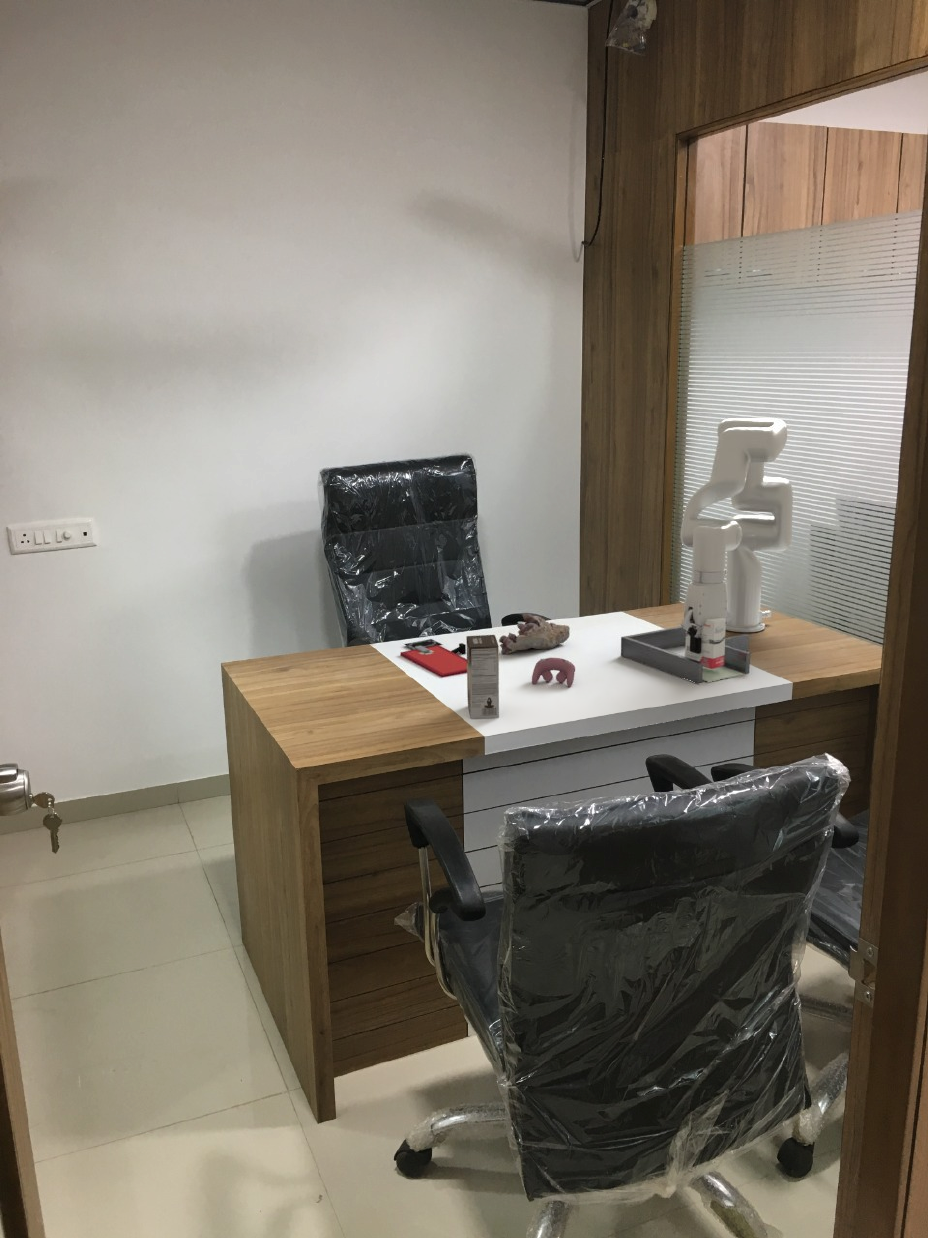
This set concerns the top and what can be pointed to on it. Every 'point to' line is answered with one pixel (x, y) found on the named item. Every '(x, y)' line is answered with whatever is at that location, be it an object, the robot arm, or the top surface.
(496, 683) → the coffee box
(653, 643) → the gray open tray
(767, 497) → the robot arm
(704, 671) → the pad
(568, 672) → the video game controller
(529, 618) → the mineral specimen
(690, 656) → the ink box
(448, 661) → the red board with handle
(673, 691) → the top surface
